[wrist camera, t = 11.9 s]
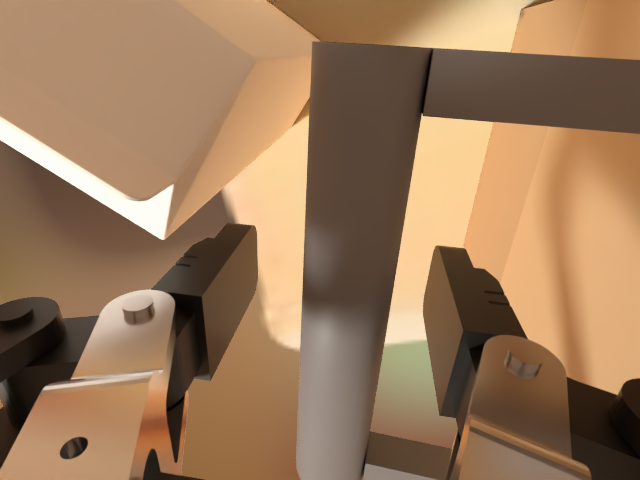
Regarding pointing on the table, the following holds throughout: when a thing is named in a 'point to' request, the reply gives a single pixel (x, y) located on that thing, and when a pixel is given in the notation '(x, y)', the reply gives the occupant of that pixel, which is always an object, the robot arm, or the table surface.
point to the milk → (149, 95)
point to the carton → (516, 143)
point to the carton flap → (530, 238)
